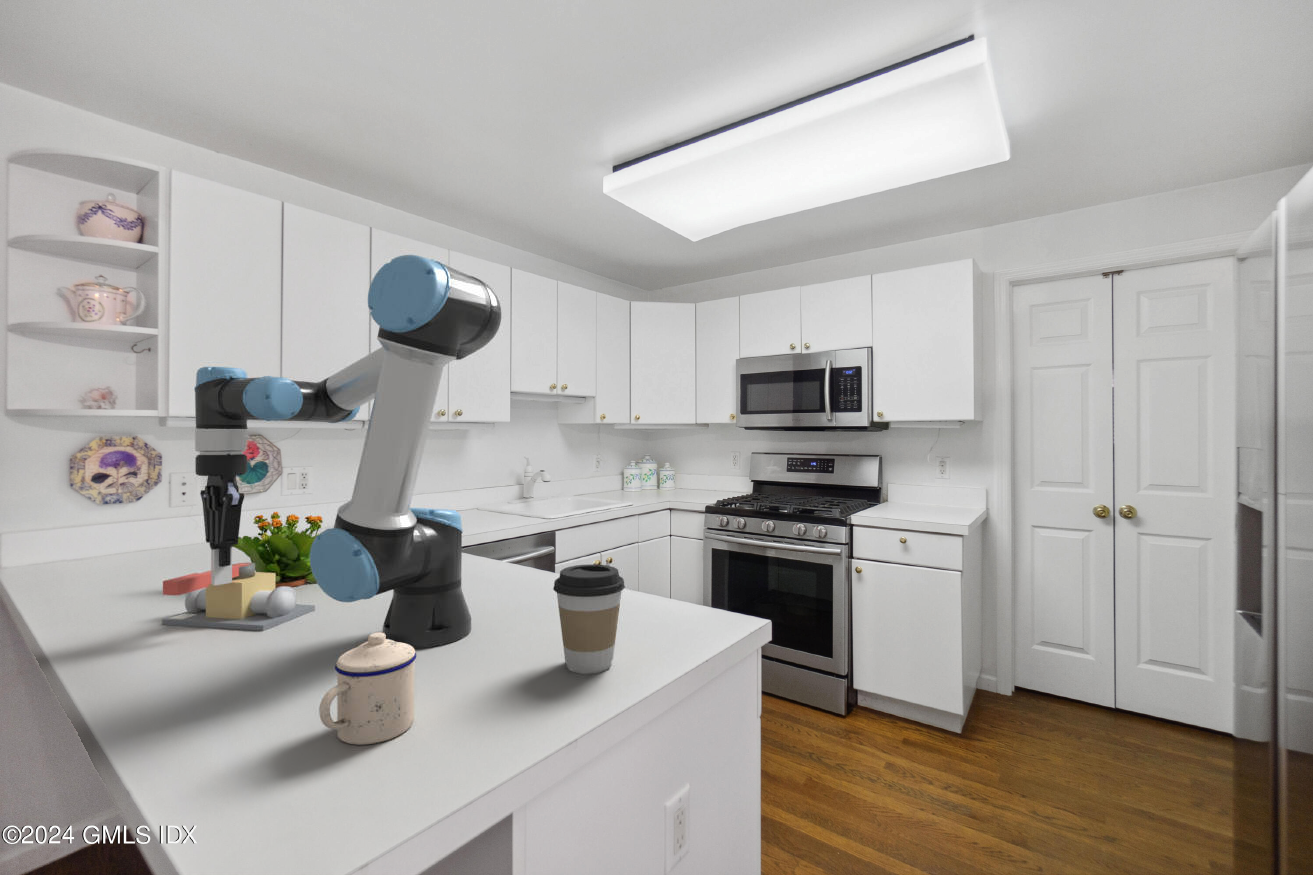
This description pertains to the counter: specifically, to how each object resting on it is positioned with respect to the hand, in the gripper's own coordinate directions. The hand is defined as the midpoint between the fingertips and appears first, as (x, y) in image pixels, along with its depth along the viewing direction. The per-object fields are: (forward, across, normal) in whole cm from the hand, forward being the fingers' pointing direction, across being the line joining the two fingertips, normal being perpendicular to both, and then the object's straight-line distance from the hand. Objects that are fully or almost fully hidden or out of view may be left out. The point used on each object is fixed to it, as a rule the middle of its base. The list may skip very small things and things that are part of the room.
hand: (221, 583), depth 105 cm
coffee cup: (+10, -63, -28) cm, 70 cm away
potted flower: (+10, +30, -22) cm, 39 cm away
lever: (+2, +7, -1) cm, 7 cm away
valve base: (+10, +9, -7) cm, 15 cm away
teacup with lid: (+10, -55, +4) cm, 56 cm away
